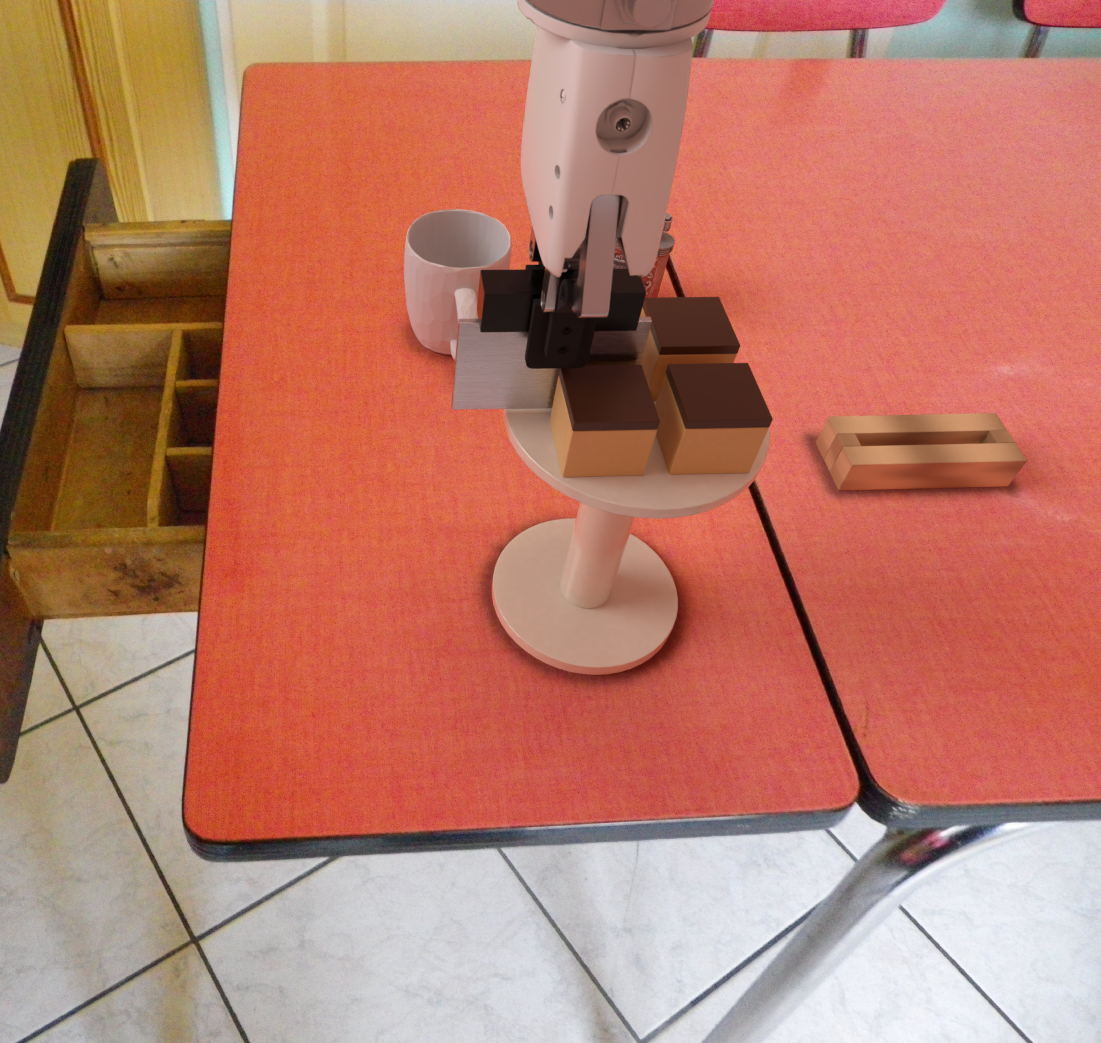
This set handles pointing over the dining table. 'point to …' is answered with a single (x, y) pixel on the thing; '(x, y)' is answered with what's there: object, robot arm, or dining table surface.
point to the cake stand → (597, 557)
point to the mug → (449, 271)
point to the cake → (664, 400)
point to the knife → (502, 331)
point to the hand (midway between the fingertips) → (551, 345)
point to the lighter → (656, 274)
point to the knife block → (919, 451)
